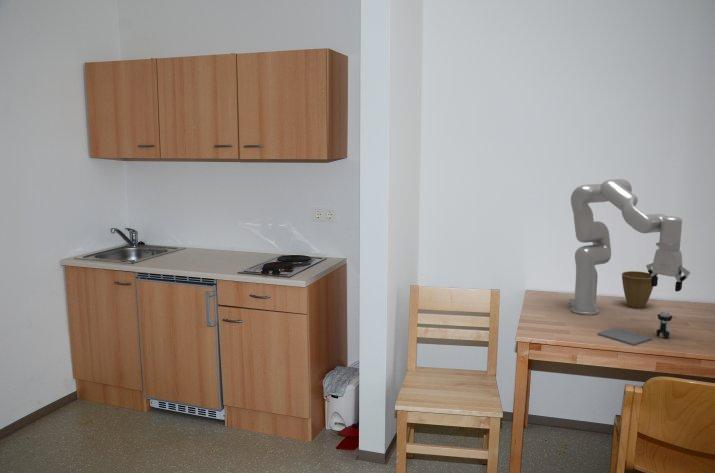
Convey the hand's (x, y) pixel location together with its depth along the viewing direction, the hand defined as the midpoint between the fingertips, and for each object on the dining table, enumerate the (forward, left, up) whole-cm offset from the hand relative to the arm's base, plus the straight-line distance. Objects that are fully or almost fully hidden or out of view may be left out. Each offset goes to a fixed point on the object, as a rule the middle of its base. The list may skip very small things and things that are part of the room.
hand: (665, 288), depth 237 cm
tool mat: (-8, -14, -20) cm, 26 cm away
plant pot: (-31, +33, -21) cm, 50 cm away
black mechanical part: (0, 0, -21) cm, 21 cm away
